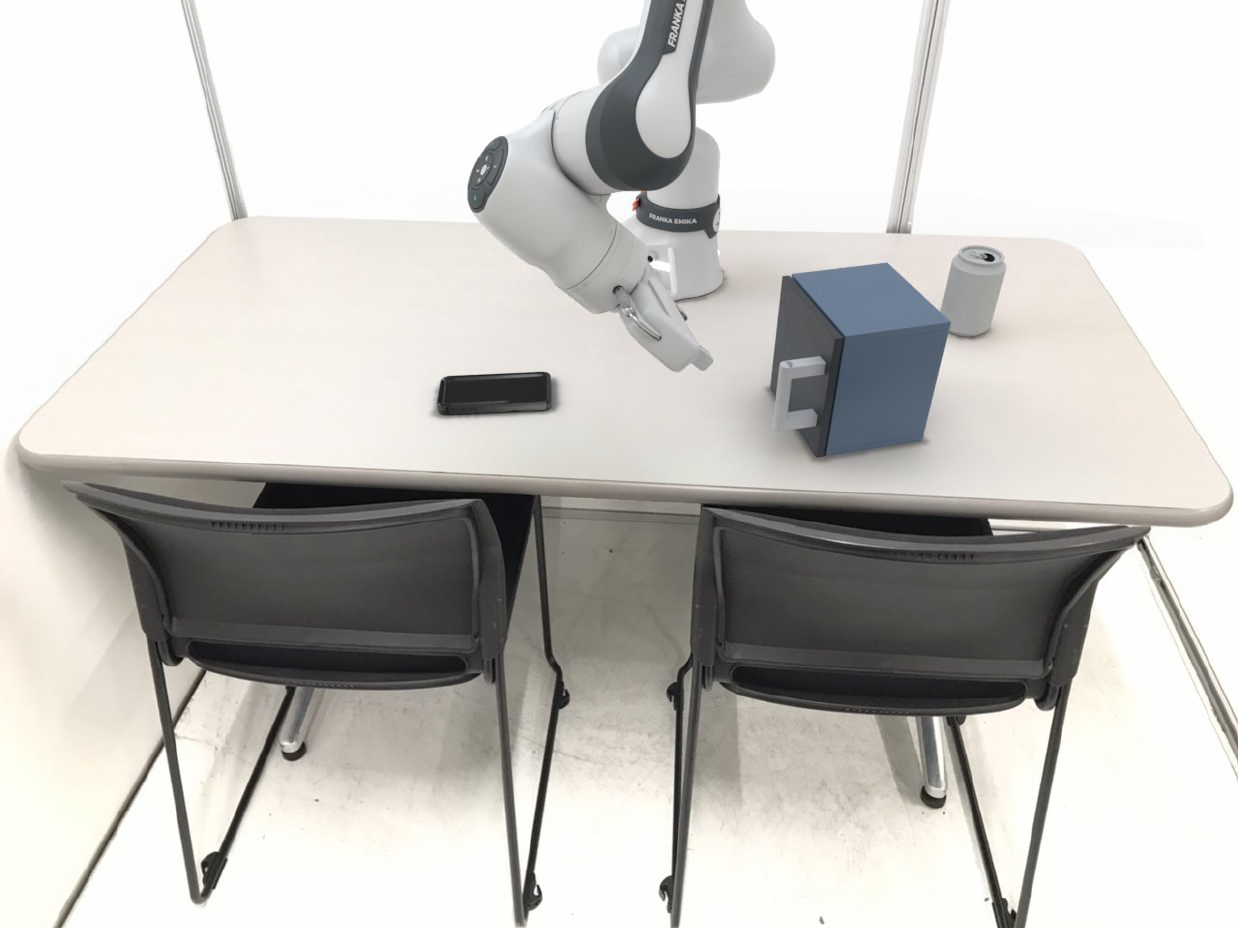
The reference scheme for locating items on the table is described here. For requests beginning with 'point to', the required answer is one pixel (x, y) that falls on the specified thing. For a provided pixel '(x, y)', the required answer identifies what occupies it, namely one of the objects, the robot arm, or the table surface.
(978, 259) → the can
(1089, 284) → the table surface
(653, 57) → the robot arm
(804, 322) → the cabinet door
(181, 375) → the table surface
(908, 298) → the blue cabinet body
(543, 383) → the phone
